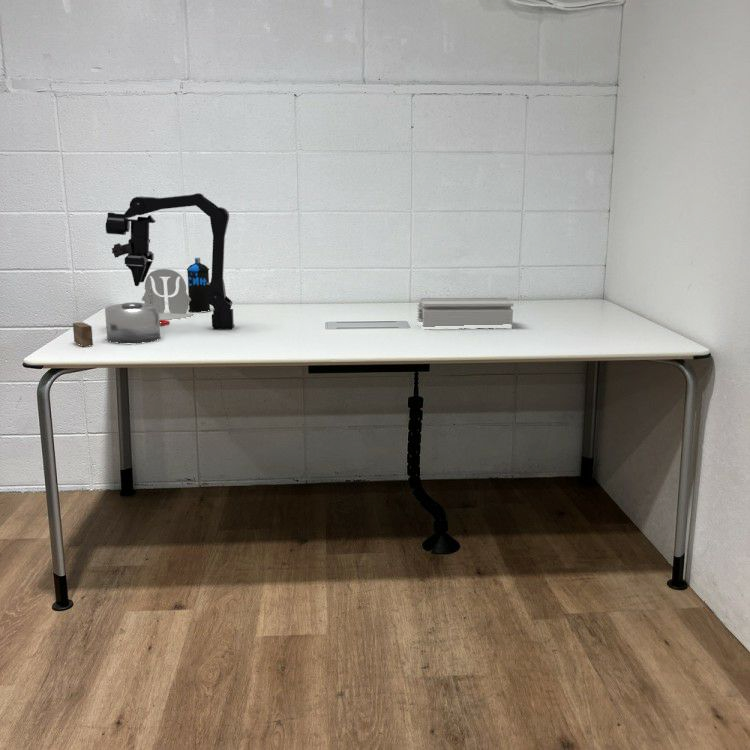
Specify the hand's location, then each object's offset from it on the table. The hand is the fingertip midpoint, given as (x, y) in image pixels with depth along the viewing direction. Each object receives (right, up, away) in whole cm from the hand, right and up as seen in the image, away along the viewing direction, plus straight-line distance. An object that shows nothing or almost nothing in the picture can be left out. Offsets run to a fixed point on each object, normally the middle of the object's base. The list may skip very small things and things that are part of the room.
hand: (139, 284), depth 262 cm
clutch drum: (+2, -18, -12) cm, 22 cm away
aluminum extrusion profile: (+108, -13, +16) cm, 110 cm away
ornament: (0, -9, +26) cm, 28 cm away
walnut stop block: (-11, -21, -21) cm, 31 cm away
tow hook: (+2, -13, +12) cm, 18 cm away
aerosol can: (+11, -6, +40) cm, 42 cm away
